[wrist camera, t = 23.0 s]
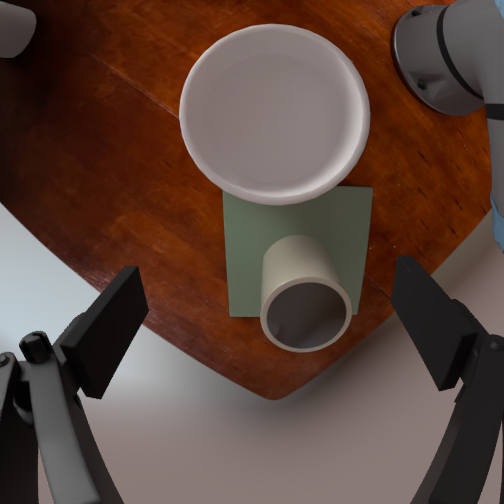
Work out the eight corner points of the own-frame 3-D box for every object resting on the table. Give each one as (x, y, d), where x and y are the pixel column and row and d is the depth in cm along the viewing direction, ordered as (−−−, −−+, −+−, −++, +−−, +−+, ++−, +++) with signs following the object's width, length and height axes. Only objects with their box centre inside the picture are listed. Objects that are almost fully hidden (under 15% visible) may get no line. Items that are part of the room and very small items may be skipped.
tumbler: (261, 298, 41) (261, 233, 38) (327, 298, 41) (334, 235, 37) (259, 352, 31) (260, 276, 27) (344, 351, 31) (359, 276, 27)
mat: (371, 186, 35) (373, 187, 35) (356, 312, 42) (357, 314, 42) (223, 185, 36) (222, 186, 36) (230, 314, 43) (229, 316, 43)
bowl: (308, 28, 28) (320, 1, 20) (369, 157, 34) (397, 164, 26) (173, 87, 31) (148, 74, 24) (237, 214, 37) (230, 236, 29)
